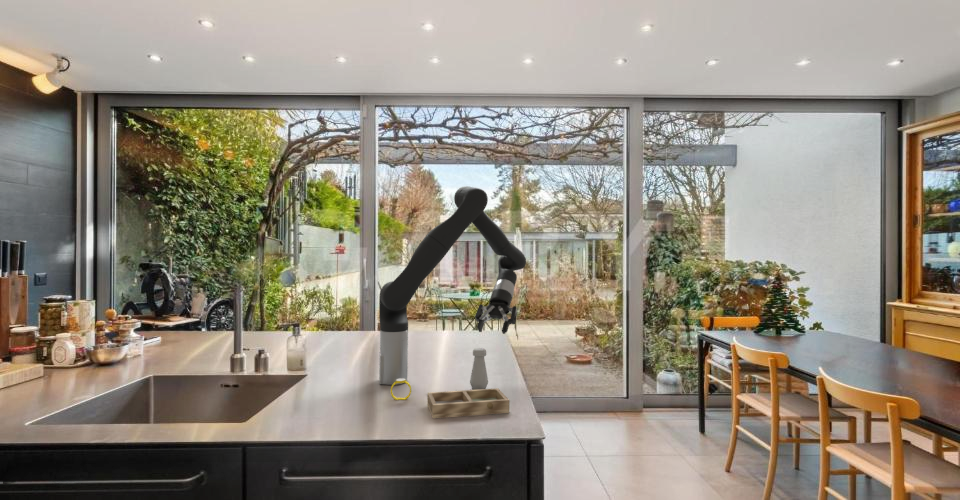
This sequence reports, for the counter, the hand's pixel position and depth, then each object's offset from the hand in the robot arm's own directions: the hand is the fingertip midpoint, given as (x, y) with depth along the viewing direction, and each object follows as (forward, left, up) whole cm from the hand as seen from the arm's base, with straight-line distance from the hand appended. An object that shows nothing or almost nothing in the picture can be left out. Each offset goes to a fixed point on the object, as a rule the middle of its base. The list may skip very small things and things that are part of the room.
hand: (491, 331), depth 159 cm
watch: (-31, -14, -17) cm, 38 cm away
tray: (-14, -26, -17) cm, 34 cm away
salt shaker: (-6, -9, -17) cm, 20 cm away
